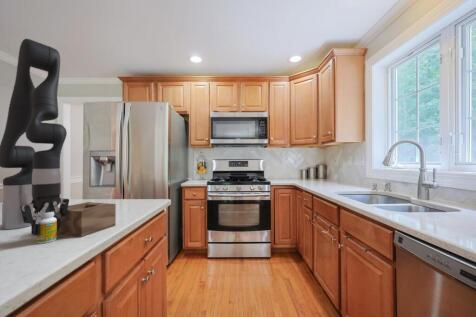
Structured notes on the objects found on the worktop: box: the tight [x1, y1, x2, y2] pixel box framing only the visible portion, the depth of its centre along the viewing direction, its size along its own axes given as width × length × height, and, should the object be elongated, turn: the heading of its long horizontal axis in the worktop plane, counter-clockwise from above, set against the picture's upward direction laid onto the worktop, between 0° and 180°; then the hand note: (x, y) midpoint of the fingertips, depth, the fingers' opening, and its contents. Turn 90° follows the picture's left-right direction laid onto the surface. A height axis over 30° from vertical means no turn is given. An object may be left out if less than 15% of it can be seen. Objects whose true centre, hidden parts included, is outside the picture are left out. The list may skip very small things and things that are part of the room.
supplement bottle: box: [35, 211, 58, 244], centre depth 78 cm, size 5×5×10 cm
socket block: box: [57, 201, 117, 238], centre depth 91 cm, size 15×15×9 cm
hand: (46, 232), depth 78 cm, fingers closed on supplement bottle, 5 cm apart
